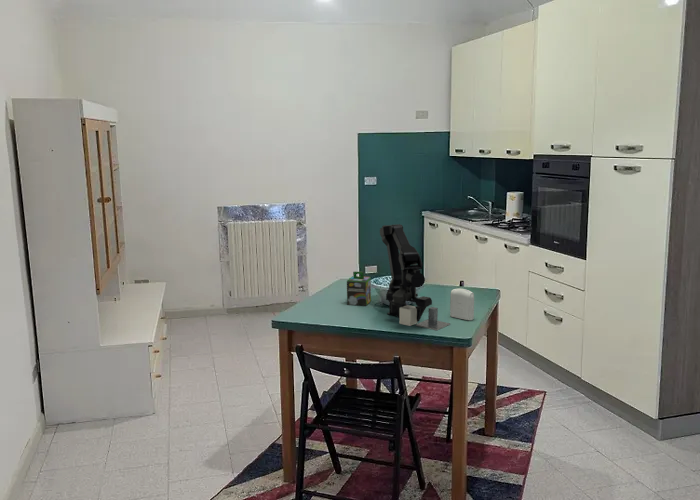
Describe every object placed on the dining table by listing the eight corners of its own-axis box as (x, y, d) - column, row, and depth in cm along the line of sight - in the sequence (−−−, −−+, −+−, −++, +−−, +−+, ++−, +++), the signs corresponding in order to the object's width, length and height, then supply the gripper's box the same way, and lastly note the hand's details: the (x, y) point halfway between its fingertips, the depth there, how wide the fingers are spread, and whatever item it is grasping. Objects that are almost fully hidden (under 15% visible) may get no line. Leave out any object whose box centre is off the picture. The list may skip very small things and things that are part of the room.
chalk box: (371, 301, 290) (371, 269, 288) (366, 306, 282) (366, 273, 279) (351, 300, 293) (351, 268, 290) (346, 305, 284) (346, 272, 281)
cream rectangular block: (399, 323, 256) (399, 307, 255) (406, 320, 260) (406, 305, 259) (410, 326, 253) (410, 309, 251) (417, 323, 257) (417, 307, 255)
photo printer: (448, 316, 265) (449, 287, 263) (454, 314, 268) (455, 286, 266) (469, 321, 258) (470, 292, 256) (475, 319, 261) (476, 290, 259)
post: (415, 325, 253) (415, 308, 252) (428, 320, 261) (429, 303, 259) (436, 330, 247) (437, 313, 245) (450, 324, 254) (450, 307, 253)
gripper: (377, 282, 253) (377, 319, 256) (417, 289, 241) (416, 328, 244) (394, 277, 261) (393, 313, 264) (433, 283, 250) (432, 322, 252)
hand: (408, 319), depth 256 cm, fingers open, 9 cm apart
